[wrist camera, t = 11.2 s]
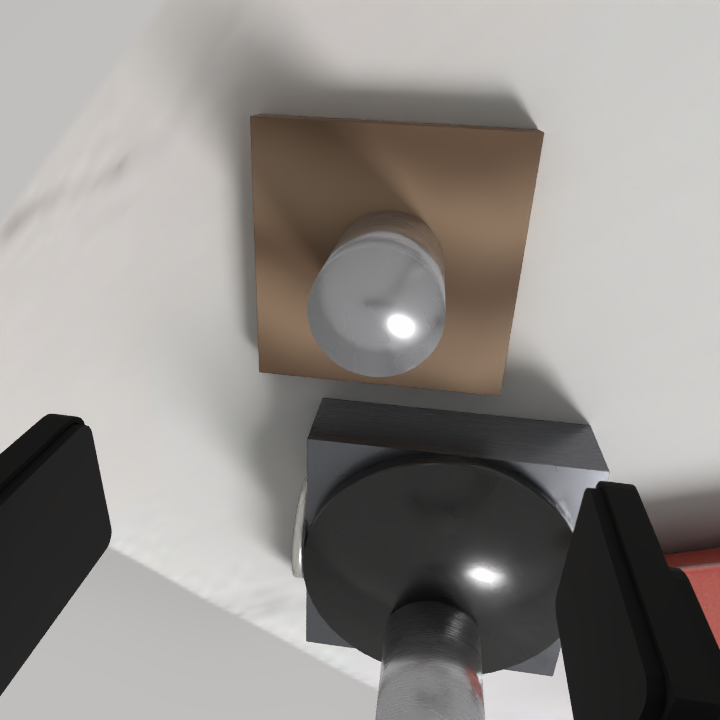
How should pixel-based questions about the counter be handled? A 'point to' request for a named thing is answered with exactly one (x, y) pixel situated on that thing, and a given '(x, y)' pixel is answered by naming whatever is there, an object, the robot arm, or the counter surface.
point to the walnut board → (397, 193)
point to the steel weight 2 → (430, 665)
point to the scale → (440, 524)
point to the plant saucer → (702, 581)
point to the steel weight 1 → (380, 296)
